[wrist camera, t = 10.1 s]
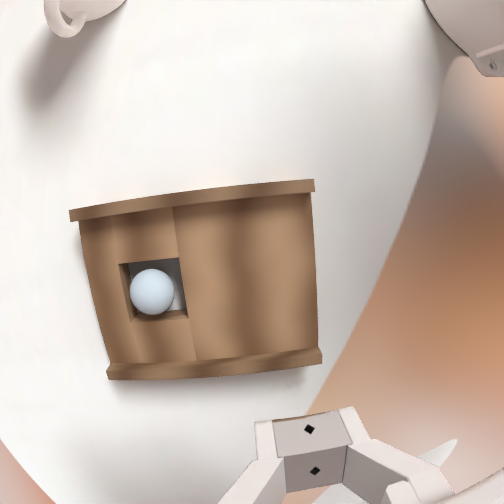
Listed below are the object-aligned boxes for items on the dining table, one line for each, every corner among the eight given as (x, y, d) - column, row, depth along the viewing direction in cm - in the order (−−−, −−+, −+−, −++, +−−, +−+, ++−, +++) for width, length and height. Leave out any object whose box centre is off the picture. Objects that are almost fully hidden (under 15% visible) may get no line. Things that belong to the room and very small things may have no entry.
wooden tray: (303, 180, 28) (313, 179, 24) (312, 344, 31) (322, 363, 27) (88, 206, 27) (68, 210, 23) (120, 360, 30) (108, 379, 26)
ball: (159, 261, 29) (179, 267, 26) (165, 302, 30) (185, 312, 27) (120, 271, 27) (135, 278, 24) (128, 313, 28) (144, 325, 25)
